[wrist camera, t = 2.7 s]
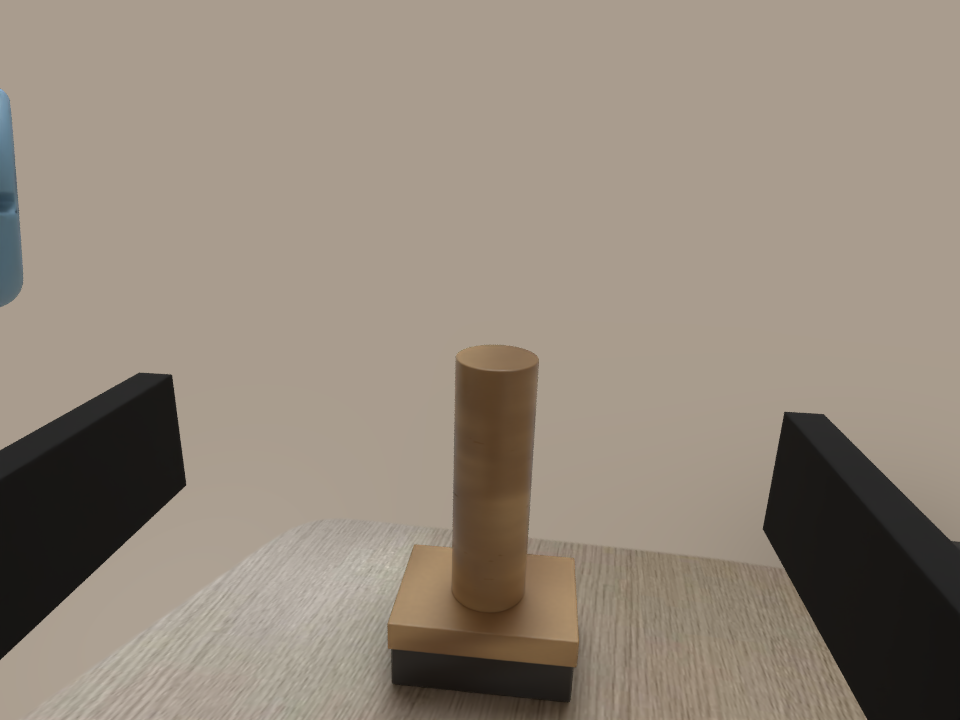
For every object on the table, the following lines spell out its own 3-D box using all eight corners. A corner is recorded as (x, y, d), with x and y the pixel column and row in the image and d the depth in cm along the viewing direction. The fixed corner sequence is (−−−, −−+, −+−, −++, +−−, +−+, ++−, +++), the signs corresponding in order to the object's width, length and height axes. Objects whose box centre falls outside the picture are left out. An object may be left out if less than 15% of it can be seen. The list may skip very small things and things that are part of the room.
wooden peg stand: (388, 686, 26) (382, 375, 22) (414, 599, 31) (413, 331, 27) (573, 705, 25) (603, 389, 21) (569, 613, 30) (593, 341, 26)
